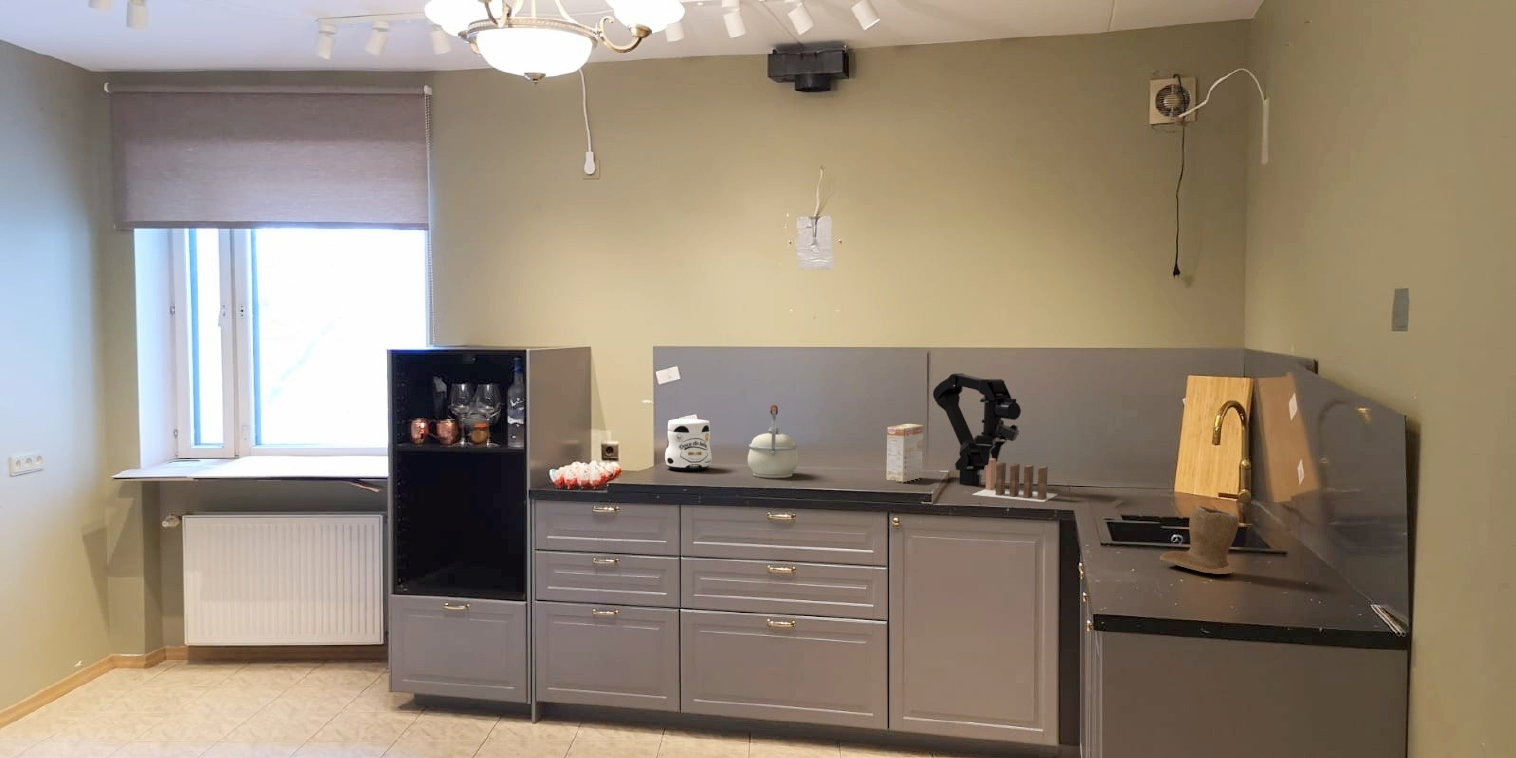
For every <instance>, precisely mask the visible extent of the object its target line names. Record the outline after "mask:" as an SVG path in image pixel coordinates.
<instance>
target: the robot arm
mask: <svg viewBox="0 0 1516 758" xmlns="http://www.w3.org/2000/svg"><path fill="white" fill-rule="evenodd" d="M963 388H966V389H967V388H968V389H970V390H974V391H975V390H976V391H978V393H979V394H980V395H983V397H982V398H981V399H979V402H980V403H983V404H984V405H983V406H984V407H983V419H981V423H982V424H983V430H982V431H981V432H980V433H981V434H977V435H976V436H975V437H974V436H973V434H972V433H971V430H970V427H969V425H968V423H967V421H966V419H965V416H964V414H963V412H962V410H961V408H960V405H959V404H960V400H961V399H960V394H961V393H962V392H963ZM932 396H933V398H934V401H935V402H936V404H937V406H939V407H940V408H941V409H942V410H943V411H945V413H946V416H947V418H948V420H949V423H950V424H951V428H953V432H954V433H955V437H956V438H957V440H958V443H959V445H960V447H959V458H958V459H957V461H956V462H955V463H954V466H955V470H956V471H959V485H961V486H967V487H980V486H982V477H983V476H982V474H981V471H984V470H985V469H986V465H988V464H989V459H991V458H994V459H996V463H997V462H998V460H999V456H1000V453H1001V450H1002V447H1003V446H1004V445H1005V444H1006V443H1008V441H1010V442H1013V441H1016V439H1017V437H1018V436H1019V435H1020V430H1019V428H1018V427H1019V426H1018V425H1015V424H1012V425H1011V426H1010V425H1005V421H1004V419H1006V420H1011V421H1016V420H1017V419H1019V417H1020V416H1021V411H1022V408H1021V407H1020V404H1019V403H1018V402H1017V399H1016V398H1012V396H1011V393H1010V392H1009V389H1008V388H1007V384H1005V381H1004V380H1003V379H1002V378H990V379H989V378H988V379H987V378H982V377H981V378H980V377H976V376H971V375H968V374H965V373H961V372H960V373H952V374H950V375H949V377H947V378H946V379H944V380H943V381H941V382H940V383H938V385H936V386H935V387H934V390H933V392H932Z"/></svg>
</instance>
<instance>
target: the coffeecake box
mask: <svg viewBox="0 0 1516 758" xmlns="http://www.w3.org/2000/svg"><path fill="white" fill-rule="evenodd" d="M886 429H887V432H886V433H887V437H886V438H887V439H886V441H887V442H886V479H887V480H896V481H905V480H910V479H914V478H918V477H922V478H923V455H924V454H923V449H924V447H923V446H924V445H923V443H924V424H923V425H922V424H913V423H903V424H898V425H897V424H896V425H892V426H887V428H886Z"/></svg>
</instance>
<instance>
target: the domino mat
mask: <svg viewBox="0 0 1516 758" xmlns="http://www.w3.org/2000/svg"><path fill="white" fill-rule="evenodd" d="M1009 489H1010V488H1009ZM1009 489H1008V488H1005V494H1003V495H1001V496H999V495H995V494H996V487H995V489H992V490H986V488H984V489H982V490H980V491H977V492H975V493H972V494H971V495H973V496H982V497H990V498H1000V499H1002V498H1003V499H1010V500H1019V501H1020V500H1021V501H1029V502H1030V501H1031V502H1039V503H1044V502H1046V501H1048V500H1050V499H1052V498H1054V497H1056V496H1058V493H1052V492H1051V493H1049V492H1047V498H1045V499H1043V500H1038V499H1037V496H1038V491H1033V496H1032V497H1030V498H1023V490H1020V489H1019V495H1017V496H1015V497H1009Z"/></svg>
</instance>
